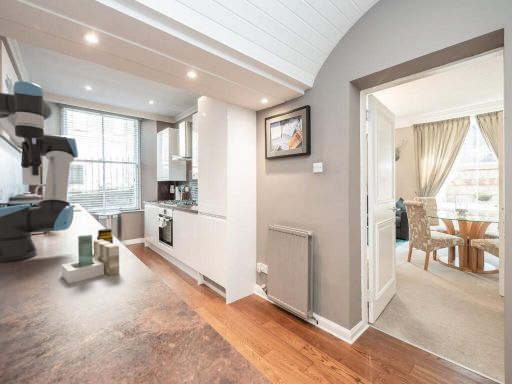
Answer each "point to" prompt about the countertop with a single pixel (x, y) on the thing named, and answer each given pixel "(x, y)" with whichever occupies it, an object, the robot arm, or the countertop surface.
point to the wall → (107, 256)
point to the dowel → (85, 250)
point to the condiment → (105, 236)
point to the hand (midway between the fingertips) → (31, 185)
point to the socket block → (82, 271)
